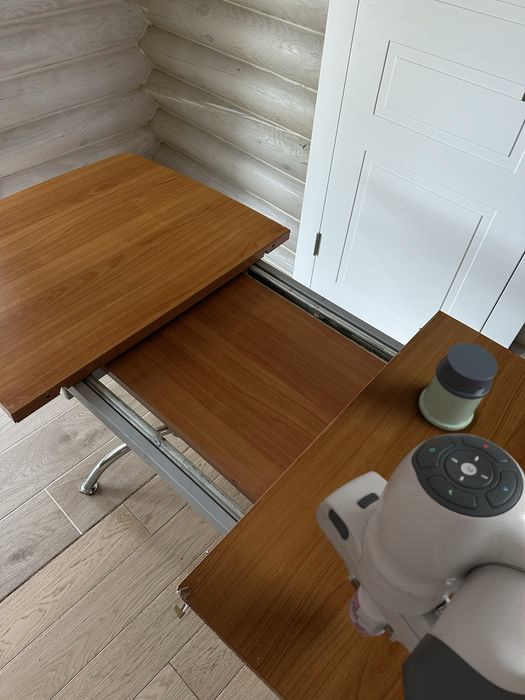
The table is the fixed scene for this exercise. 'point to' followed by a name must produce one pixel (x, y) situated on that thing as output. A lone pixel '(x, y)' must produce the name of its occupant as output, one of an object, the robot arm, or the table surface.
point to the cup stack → (458, 386)
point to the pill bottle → (366, 614)
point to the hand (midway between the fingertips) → (374, 605)
